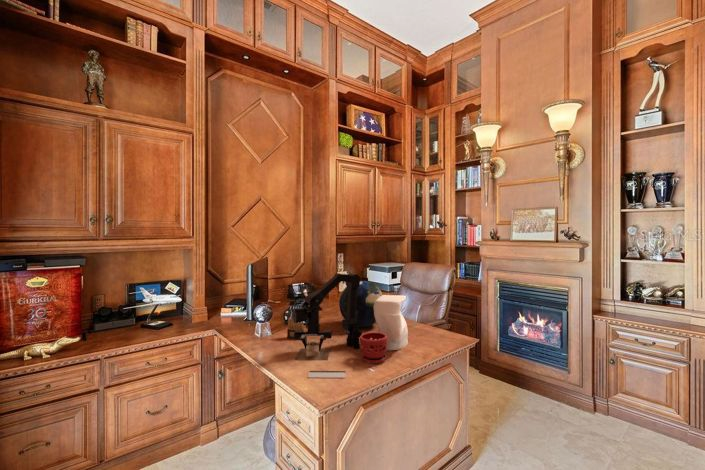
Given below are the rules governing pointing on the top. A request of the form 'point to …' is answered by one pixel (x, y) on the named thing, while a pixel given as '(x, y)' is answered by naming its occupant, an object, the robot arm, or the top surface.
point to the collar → (312, 349)
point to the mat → (326, 374)
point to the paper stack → (391, 320)
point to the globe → (362, 303)
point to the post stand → (322, 356)
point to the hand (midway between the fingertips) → (313, 350)
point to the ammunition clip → (293, 328)
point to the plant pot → (373, 347)
